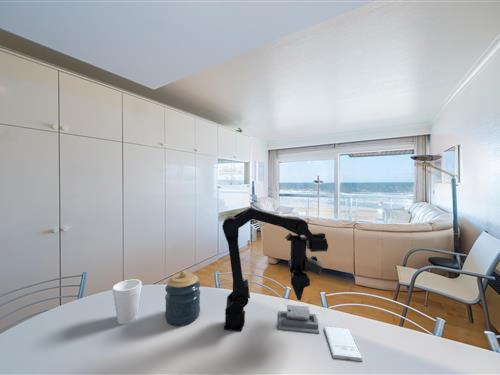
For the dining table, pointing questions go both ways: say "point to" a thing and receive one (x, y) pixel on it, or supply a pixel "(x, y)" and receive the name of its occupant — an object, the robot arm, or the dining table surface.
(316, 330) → the dock
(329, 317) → the dining table surface
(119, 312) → the foam cup
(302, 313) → the block
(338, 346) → the external hard drive
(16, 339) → the dining table surface
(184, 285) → the canister
